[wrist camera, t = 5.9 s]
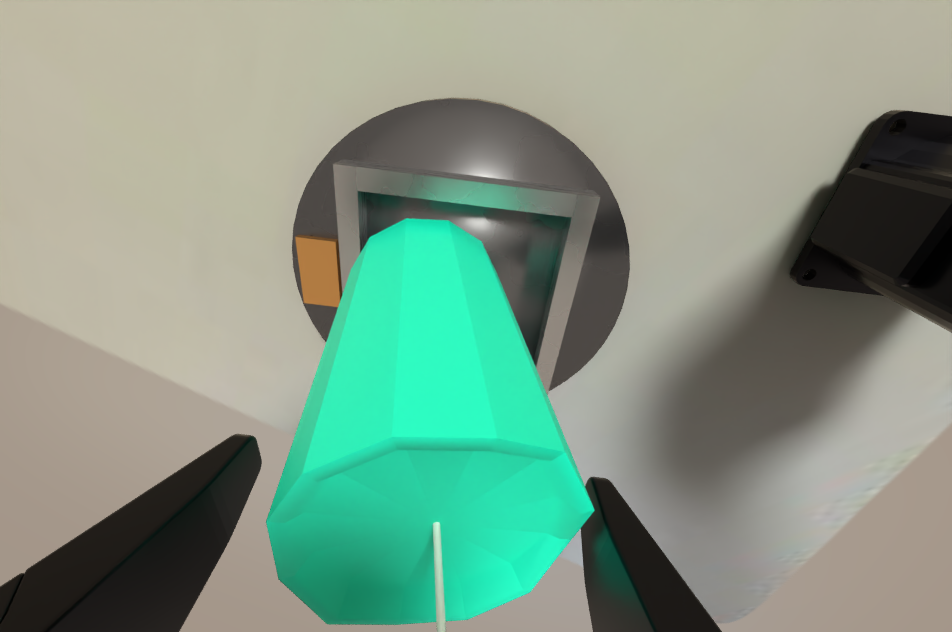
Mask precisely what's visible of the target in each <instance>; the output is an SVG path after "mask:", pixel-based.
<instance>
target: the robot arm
mask: <svg viewBox="0 0 952 632" xmlns="http://www.w3.org/2000/svg"><path fill="white" fill-rule="evenodd" d="M895 121H896V126H895V128H894V129H893V130H892V131H891V132H890V133H889V129H890V126H891V125H892V124H893V123H894V122H895ZM809 269H810V271H809V272H808V274H806V275H805V276H803V274H804V273H805V272H806V271H807V270H809ZM790 277H791V279H792V280H793V281H795V282H796V283H798V284H800V285H802V286H809V287H818V288H826V289H834V290H842V291H850V292H858V293H866V294H874V295H882V296H886V297H888V298H890V299H891V300H893V301H895V302H897V303H899V304H901V305H902V306H904V307H906V308H908V309H910V310H911V311H913V312H915V313H917V314H919V315H921V316H922V317H924V318H926V319H928V320H930V321H931V322H933V323H935V324H937V325H939V326H941V327H942V328H944V329H946V330H948V331H950V332H951V333H952V116H944V115H936V114H929V113H921V112H913V111H902V110H893V111H889V112H887V113H885V114H883V115H882V116H881V117H879V118H878V119H877V121H876V122H875V123H874V125H873V126H872V128H871V130H870V132H869V134H868V135H867V137H866V139H865V141H864V142H863V144H862V146H861V148H860V149H859V151H858V153H857V155H856V156H855V158H854V160H853V162H852V163H851V165H850V167H849V169H848V171H847V172H846V174H845V176H844V178H843V179H842V181H841V183H840V185H839V186H838V188H837V190H836V192H835V193H834V195H833V197H832V199H831V200H830V202H829V204H828V206H827V208H826V209H825V211H824V213H823V215H822V216H821V218H820V220H819V222H818V223H817V225H816V227H815V229H814V230H813V232H812V234H811V236H810V237H809V239H808V241H807V243H806V245H805V246H804V248H803V250H802V252H801V253H800V255H799V257H798V259H797V260H796V262H795V264H794V266H793V267H792V269H791V272H790ZM261 464H262V461H261V456H260V452H259V448H258V444H257V440H256V438H255V437H254V436H251V435H243V434H235V435H233V436H231V437H229V438H227V439H226V440H224V441H223V442H221V443H220V444H218V445H217V446H215V447H214V448H212V449H211V450H209V451H207V452H206V453H204V454H203V455H201V456H200V457H198V458H197V459H195V460H194V461H192V462H191V463H189V464H188V465H186V466H184V467H183V468H181V469H180V470H178V471H177V472H176V473H174V474H172V475H171V476H169V477H168V478H166V479H165V480H163V481H162V482H160V483H158V484H157V485H155V486H154V487H152V488H151V489H149V490H148V491H146V492H145V493H143V494H142V495H140V496H138V497H137V498H135V499H134V500H132V501H131V502H129V503H128V504H126V505H125V506H123V507H122V508H120V509H119V510H117V511H115V512H114V513H112V514H111V515H110V516H108V517H106V518H105V519H103V520H102V521H100V522H99V523H97V524H96V525H94V526H92V527H91V528H89V529H88V530H86V531H85V532H83V533H82V534H80V535H79V536H77V537H76V538H74V539H73V540H71V541H70V542H68V543H67V544H65V545H63V546H62V547H60V548H59V549H57V550H56V551H54V552H53V553H51V554H50V555H48V556H46V557H45V558H43V559H42V560H41V561H39V562H37V563H36V564H34V565H33V566H31V567H30V568H28V569H27V570H26V572H25V573H21V574H19V575H17V576H16V577H14V578H12V579H11V580H9V581H8V582H6V583H5V584H3V585H2V586H0V632H179V631H180V629H181V627H182V626H183V624H184V622H185V620H186V618H187V617H188V615H189V613H190V611H191V609H192V608H193V606H194V604H195V602H196V600H197V599H198V596H199V595H200V593H201V591H202V590H203V588H204V586H205V584H206V582H207V581H208V579H209V577H210V575H211V573H212V571H213V569H214V568H215V566H216V564H217V562H218V561H219V559H220V557H221V555H222V553H223V552H224V550H225V548H226V546H227V543H228V542H229V540H230V538H231V536H232V534H233V532H234V529H235V527H236V525H237V522H238V520H239V518H240V516H241V513H242V511H243V508H244V506H245V504H246V502H247V499H248V497H249V495H250V492H251V490H252V488H253V486H254V483H255V481H256V479H257V476H258V474H259V472H260V469H261ZM585 488H586V490H587V493H588V495H589V498H590V500H591V503H592V505H593V507H594V510H595V511H594V512H593V513H592V514H591V516H590V517H589V518H588V519H587V521H586V522H585V523H584V524H583V526H582V527H581V539H582V552H583V566H584V577H585V587H586V593H587V599H588V605H589V611H590V616H591V622H592V628H593V632H722V631H721V630H720V628H719V627H718V626H717V624H716V623H715V622H714V620H713V619H712V618H711V616H710V615H709V614H708V612H707V611H706V610H705V608H704V607H703V606H702V604H701V603H700V601H699V600H698V599H697V597H696V596H695V595H694V593H693V592H692V591H691V589H690V588H689V587H688V585H687V584H686V583H685V581H684V580H683V579H682V577H681V576H680V574H679V573H678V572H677V570H676V569H675V568H674V566H673V565H672V564H671V562H670V561H669V560H668V558H667V557H666V556H665V554H664V553H663V552H662V550H661V549H660V547H659V546H658V545H657V543H656V542H655V541H654V539H653V538H652V537H651V535H650V534H649V533H648V531H647V530H646V529H645V527H644V526H643V525H642V523H641V522H640V520H639V519H638V518H637V516H636V515H635V514H634V512H633V511H632V510H631V508H630V507H629V506H628V504H627V503H626V502H625V500H624V499H623V498H622V496H621V495H620V493H619V492H618V491H617V489H616V488H615V487H614V485H613V484H612V483H611V482H610V481H609V480H608V479H606V478H599V477H590V478H589V479H588V481H587V483H586V486H585Z"/></svg>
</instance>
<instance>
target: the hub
mask: <svg viewBox="0 0 952 632" xmlns="http://www.w3.org/2000/svg"><path fill="white" fill-rule="evenodd" d="M406 218H409V219H430V220H448V221H450V222H452V223H453V224H455V225H456V226H458V227H460V228H461V229H463V230H464V231H466V232H467V233H469V234H471V235H472V236H474V237H475V238H477V239H478V240H480V241H482V243H483V246H484V248H485V250H486V252H487V254H488V256H489V258H490V260H491V262H492V264H493V266H494V268H495V270H496V272H497V275H498V277H499V279H500V282H501V284H502V287H503V289H504V292H505V294H506V296H507V299H508V301H509V304H510V306H511V309H512V311H513V313H514V316H515V318H516V321H517V323H518V326H519V328H520V330H521V333H522V335H523V338H524V340H525V343H526V345H527V347H528V350H529V352H530V355H531V357H532V360H533V362H534V364H535V367H536V369H537V372H538V374H539V376H540V379H541V381H542V384H543V386H544V389H545V391H546V393H547V395H548V391H550V390H552V389H553V388H555V387H557V386H558V385H560V384H562V383H563V382H565V381H566V380H568V379H569V378H570V377H571V376H573V375H574V374H575V373H577V372H578V371H579V370H580V369H581V368H582V367H583V366H584V365H585V364H586V363H587V362H588V361H590V360H591V359H592V358H593V356H594V355H595V354H596V353H597V351H598V350H599V349H600V348H601V346H602V345H603V344H604V342H605V341H606V339H607V338H608V336H609V334H610V332H611V331H612V329H613V327H614V326H615V323H616V321H617V319H618V316H619V314H620V312H621V309H622V306H623V303H624V299H625V295H626V291H627V286H628V278H629V270H630V262H629V244H628V238H627V233H626V227H625V223H624V220H623V217H622V214H621V211H620V208H619V205H618V203H617V201H616V199H615V197H614V195H613V193H612V191H611V189H610V187H609V185H608V184H607V182H606V180H605V179H604V178H603V176H602V175H601V173H600V172H599V171H598V169H597V168H596V167H595V165H594V164H593V162H592V161H591V160H590V159H589V158H588V157H587V156H586V155H585V154H584V153H583V152H582V151H581V150H580V149H579V148H578V147H577V146H576V145H575V144H574V143H573V142H571V141H570V140H569V139H568V138H566V137H565V136H564V135H562V134H561V133H560V132H558V131H557V130H556V129H554V128H553V127H552V126H550V125H549V124H547V123H545V122H543V121H541V120H540V119H538V118H536V117H534V116H532V115H530V114H529V113H526V112H524V111H521V110H518V109H515V108H513V107H510V106H507V105H504V104H500V103H496V102H491V101H486V100H481V99H469V98H444V99H434V100H426V101H421V102H417V103H414V104H410V105H406V106H402V107H398V108H395V109H393V110H390V111H388V112H386V113H383V114H381V115H379V116H376V117H374V118H372V119H370V120H369V121H367V122H365V123H364V124H362V125H361V126H359V127H358V128H356V129H354V130H353V131H351V132H350V133H349V134H348V135H347V136H345V137H344V138H343V139H342V140H341V141H340V142H339V143H338V144H336V145H335V146H334V147H333V148H332V149H331V150H330V152H329V153H328V154H327V155H326V156H325V158H324V159H323V160H322V161H321V163H320V164H319V165H318V166H317V168H316V170H315V171H314V173H313V175H312V176H311V178H310V180H309V182H308V183H307V185H306V187H305V190H304V192H303V195H302V198H301V200H300V203H299V205H298V209H297V214H296V218H295V222H294V228H293V241H292V254H293V268H294V272H295V277H296V282H297V287H298V290H299V292H300V295H301V298H302V301H303V304H304V306H305V308H306V310H307V312H308V314H309V316H310V318H311V320H312V322H313V324H314V325H315V327H316V329H317V330H318V332H319V333H320V335H321V336H322V338H323V339H324V340H325V341H326V342H327V339H328V336H329V333H330V330H331V327H332V324H333V321H334V318H335V315H336V312H337V309H338V306H339V303H340V300H341V297H342V294H343V291H344V288H345V286H346V283H347V280H348V277H349V274H350V271H351V268H352V267H353V265H354V263H355V262H356V260H357V258H358V256H359V255H360V253H361V251H362V250H363V248H364V246H365V244H366V243H367V241H368V239H369V238H370V237H371V236H373V235H375V234H377V233H379V232H381V231H383V230H384V229H386V228H388V227H390V226H392V225H394V224H396V223H398V222H400V221H402V220H404V219H406Z"/></svg>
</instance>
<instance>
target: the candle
mask: <svg viewBox="0 0 952 632" xmlns="http://www.w3.org/2000/svg"><path fill="white" fill-rule="evenodd" d="M594 511H595V510H594V507H593V505H592V503H591V500H590V498H589V495H588V493H587V490H586V488H585V486H584V483H583V481H582V478H581V476H580V474H579V471H578V469H577V466H576V464H575V461H574V459H573V457H572V454H571V452H570V449H569V447H568V444H567V442H566V440H565V437H564V435H563V432H562V430H561V427H560V425H559V423H558V420H557V418H556V415H555V413H554V410H553V408H552V406H551V403H550V401H549V398H548V396H547V393H546V391H545V389H544V386H543V384H542V381H541V379H540V376H539V374H538V372H537V369H536V367H535V364H534V362H533V360H532V357H531V355H530V352H529V350H528V347H527V345H526V343H525V340H524V338H523V335H522V333H521V330H520V328H519V326H518V323H517V321H516V318H515V316H514V313H513V311H512V309H511V306H510V304H509V301H508V299H507V296H506V294H505V292H504V289H503V287H502V284H501V282H500V279H499V277H498V275H497V272H496V270H495V268H494V266H493V264H492V262H491V260H490V258H489V256H488V254H487V252H486V250H485V248H484V246H483V243H482V241H480V240H478V239H477V238H475V237H474V236H472V235H471V234H469V233H467V232H466V231H464V230H463V229H461V228H460V227H458V226H456V225H455V224H453V223H452V222H450V221H448V220H430V219H409V218H406V219H404V220H402V221H400V222H398V223H396V224H394V225H392V226H390V227H388V228H386V229H384V230H383V231H381V232H379V233H377V234H375V235H373V236H371V237H370V238H369V239H368V241H367V243H366V244H365V246H364V248H363V250H362V251H361V253H360V255H359V256H358V258H357V260H356V262H355V263H354V265H353V267H352V268H351V271H350V274H349V277H348V280H347V283H346V286H345V288H344V291H343V294H342V297H341V300H340V303H339V306H338V309H337V312H336V315H335V318H334V321H333V324H332V327H331V330H330V333H329V336H328V339H327V342H326V345H325V348H324V351H323V354H322V357H321V360H320V363H319V366H318V369H317V372H316V375H315V378H314V381H313V384H312V387H311V390H310V393H309V396H308V399H307V401H306V404H305V407H304V410H303V413H302V416H301V419H300V422H299V425H298V428H297V431H296V434H295V437H294V440H293V443H292V446H291V449H290V452H289V455H288V458H287V461H286V464H285V467H284V470H283V473H282V476H281V479H280V482H279V485H278V488H277V491H276V494H275V497H274V500H273V503H272V506H271V509H270V512H269V514H268V518H267V520H266V523H267V528H268V532H269V538H270V542H271V546H272V551H273V555H274V560H275V565H276V569H277V574H278V578H279V580H280V581H281V582H282V583H283V584H284V585H285V586H287V588H289V589H290V590H291V591H292V592H293V593H294V594H295V595H296V596H297V597H298V598H299V599H300V600H302V601H303V602H304V603H305V604H306V605H307V606H308V607H309V608H310V609H311V610H313V611H314V612H315V613H316V614H317V615H318V616H319V617H320V618H321V619H322V620H323V621H324V622H325V623H327V624H365V625H366V624H367V625H369V624H372V625H383V624H385V625H399V624H413V623H428V622H437V632H446V622H445V621H457V620H468V619H470V618H472V617H475V616H477V615H480V614H482V613H484V612H486V611H488V610H491V609H493V608H495V607H498V606H500V605H502V604H505V603H507V602H509V601H512V600H514V599H516V598H518V597H520V596H523V595H525V594H527V593H530V592H531V590H532V589H533V588H534V587H535V585H536V584H537V583H538V581H539V580H540V579H541V578H542V576H543V575H544V574H545V573H546V571H547V570H548V569H549V567H550V566H551V565H552V564H553V562H554V561H555V560H556V558H557V557H558V556H559V555H560V553H561V552H562V551H563V549H564V548H565V547H566V546H567V544H568V543H569V542H570V540H571V539H572V538H573V537H574V536H575V534H576V533H577V532H578V531H579V529H580V528H581V527H582V526H583V524H584V523H585V522H586V521H587V519H588V518H589V517H590V516H591V514H592V513H593V512H594Z"/></svg>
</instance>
